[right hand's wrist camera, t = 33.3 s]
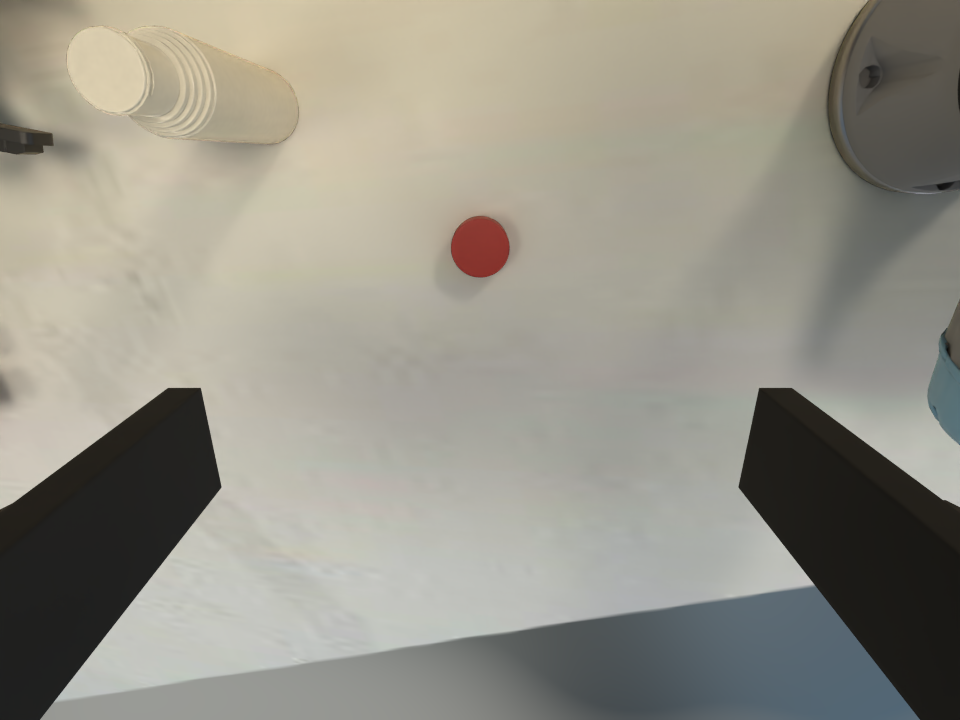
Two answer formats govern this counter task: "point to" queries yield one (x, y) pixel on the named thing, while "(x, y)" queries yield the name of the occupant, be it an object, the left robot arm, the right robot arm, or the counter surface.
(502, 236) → the cap
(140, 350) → the counter surface
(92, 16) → the counter surface
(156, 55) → the bottle
